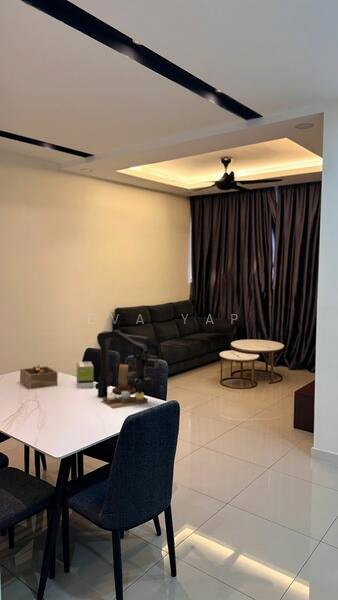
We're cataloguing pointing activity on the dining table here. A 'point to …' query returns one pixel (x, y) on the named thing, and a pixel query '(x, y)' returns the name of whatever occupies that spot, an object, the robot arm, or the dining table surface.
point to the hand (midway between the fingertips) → (139, 393)
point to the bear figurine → (38, 370)
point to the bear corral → (38, 378)
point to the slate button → (125, 395)
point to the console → (123, 402)
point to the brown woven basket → (123, 379)
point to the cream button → (111, 396)
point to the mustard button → (139, 395)
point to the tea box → (85, 374)
